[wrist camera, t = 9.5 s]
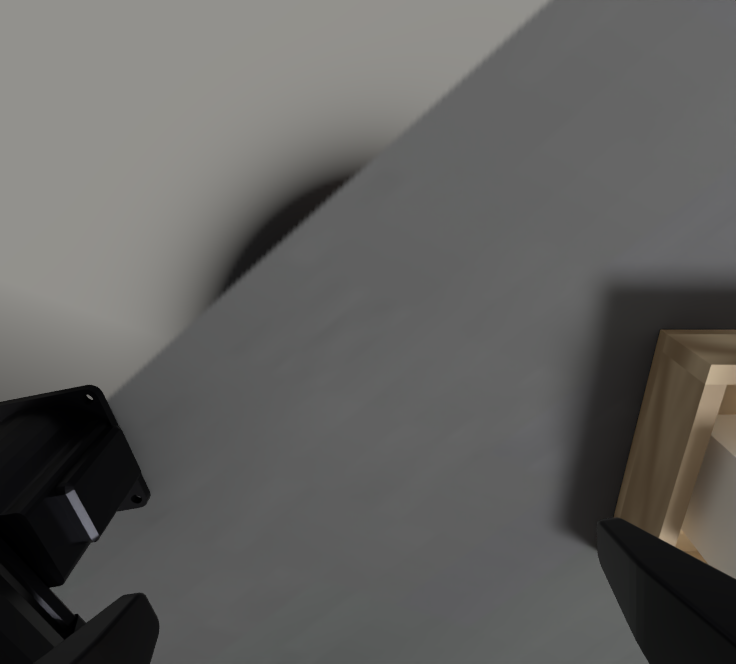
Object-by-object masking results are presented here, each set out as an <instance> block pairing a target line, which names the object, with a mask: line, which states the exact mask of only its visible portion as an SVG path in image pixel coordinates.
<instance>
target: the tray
mask: <svg viewBox="0 0 736 664" xmlns="http://www.w3.org/2000/svg"><path fill="white" fill-rule="evenodd" d="M717 415H736V330H660V333H659V337H658V341H657V345H656V349H655V353H654V357H653V361H652V365H651V369H650V373H649V377H648V381H647V385H646V389H645V393H644V397H643V401H642V405H641V409H640V413H639V417H638V421H637V425H636V429H635V433H634V437H633V441H632V445H631V449H630V453H629V457H628V461H627V465H626V469H625V473H624V477H623V481H622V485H621V489H620V493H619V497H618V501H617V505H616V509H615V513H614V517H613V518H615V517H619V518H621V519H624V520H626V521H627V522H629V523H631V524H633V525H635V526H637V527H639V528H641V529H643V530H644V531H646V532H648V533H650V534H652V535H654V536H656V537H658V538H660V539H661V540H663V541H665V542H667V543H669V544H671V545H673V546H675V547H676V548H678V549H680V550H682V551H684V552H686V553H688V554H690V555H692V556H693V557H695V558H697V559H699V560H701V561H703V562H705V563H707V562H706V561H705V559H704V558H703V557H702V555H701V554H700V553H699V552H698V550H697V549H696V548H695V546H694V545H693V544H692V543H691V541H690V540H689V539H688V538H687V536H686V535H685V534H684V532H683V531H682V530H681V527H682V524H683V521H684V518H685V515H686V511H687V508H688V505H689V502H690V499H691V496H692V493H693V490H694V486H695V483H696V480H697V477H698V474H699V471H700V468H701V465H702V462H703V458H704V455H705V452H706V449H707V446H708V443H709V440H710V437H711V433H712V430H713V427H714V424H715V421H716V418H717ZM707 564H708V563H707ZM708 565H709V564H708Z"/></svg>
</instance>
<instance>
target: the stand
mask: <svg viewBox="0 0 736 664" xmlns="http://www.w3.org/2000/svg"><path fill="white" fill-rule="evenodd" d="M681 530H682V531H683V532H684V534H685V535H686V536H687V538H688V539H689V540H690V541H691V543H692V544H693V545H694V546H695V548H696V549H697V550H698V552H699V553H700V554H701V555H702V557H703V558H704V559H705V561H706V562H707V563H708V564H709V565H710V566H712V567H714V568H716V569H718V570H720V571H722V572H724V573H725V574H727V575H729V576H731V577H733V578H735V579H736V415H717V418H716V421H715V424H714V427H713V430H712V433H711V437H710V440H709V443H708V446H707V449H706V452H705V455H704V458H703V462H702V465H701V468H700V471H699V474H698V477H697V480H696V483H695V486H694V490H693V493H692V496H691V499H690V502H689V505H688V508H687V511H686V515H685V518H684V521H683V524H682V527H681Z"/></svg>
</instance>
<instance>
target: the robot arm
mask: <svg viewBox="0 0 736 664" xmlns="http://www.w3.org/2000/svg"><path fill="white" fill-rule="evenodd" d="M87 394H88V395H90V396H91V397H92V398H93V400H91V399H89V398H88V397H87V396H86V395H87ZM136 495H138V496H140V497H141V498H139V497H137V496H136ZM149 498H150V491H149V489H148V487H147V485H146V482H145V480H144V478H143V476H142V474H141V470H140V468H139V466H138V463H137V461H136V459H135V457H134V455H133V453H132V451H131V449H130V447H129V444H128V442H127V440H126V438H125V436H124V434H123V432H122V430H121V429H120V428H119V426H118V424H117V422H116V419H115V417H114V415H113V413H112V411H111V409H110V407H109V405H108V403H107V400H106V398H105V396H104V394H103V392H102V391H101V390H100V389H99V388H98V387H96V386H93V385H85V386H80V387H75V388H70V389H65V390H59V391H54V392H49V393H44V394H39V395H34V396H29V397H23V398H19V399H13V400H8V401H3V402H0V664H150V662H151V659H152V655H153V652H154V648H155V645H156V642H157V638H158V634H159V621H158V618H157V616H156V614H155V612H154V610H153V608H152V606H151V604H150V603H149V601H148V599H147V597H146V595H144V594H143V593H134V594H127V595H123V596H122V597H120V598H119V599H117V600H116V601H115V602H113V603H112V604H111V605H109V606H108V607H107V608H105V609H104V610H103V611H102V612H100V613H99V614H98V615H96V616H95V617H94V618H92V619H91V620H90V621H88V622H87V623H86V622H85V621H84V620H83V619H82V618H81V617H80V616H79V615H78V614H73V613H72V612H71V611H70V610H69V609H68V608H67V607H66V606H65V604H64V603H63V602H62V601H61V600H60V599H59V598H58V597H57V596H56V595H55V594H54V593H53V592H52V591H51V590H50V587H56V586H61V585H63V584H64V582H65V581H66V579H67V578H68V576H69V575H70V573H71V572H72V570H73V569H74V567H75V566H76V564H77V563H78V561H79V560H80V558H81V557H82V555H83V554H84V552H85V551H86V549H87V548H88V546H89V544H90V543H92V542H96V541H97V540H99V538H100V536H101V535H102V533H103V532H104V530H105V529H106V527H107V526H108V524H109V523H110V521H111V519H112V518H113V516H114V515H115V513H116V512H117V511H123V510H128V509H134V508H140V507H143V506H145V505H146V503H147V502H148V500H149ZM597 551H598V557H599V561H600V564H601V567H602V569H603V571H604V573H605V575H606V578H607V580H608V582H609V584H610V586H611V588H612V590H613V593H614V595H615V597H616V599H617V601H618V603H619V606H620V608H621V610H622V612H623V614H624V616H625V618H626V621H627V623H628V625H629V627H630V629H631V631H632V633H633V635H634V637H635V639H636V641H637V643H638V645H639V647H640V648H641V650H642V652H643V654H644V655H645V657H646V659H647V660H648V662H649V664H736V579H735V578H733V577H731V576H729V575H727V574H725V573H724V572H722V571H720V570H718V569H716V568H714V567H712V566H710V565H708V564H707V563H705V562H703V561H701V560H699V559H697V558H695V557H693V556H692V555H690V554H688V553H686V552H684V551H682V550H680V549H678V548H676V547H675V546H673V545H671V544H669V543H667V542H665V541H663V540H661V539H660V538H658V537H656V536H654V535H652V534H650V533H648V532H646V531H644V530H643V529H641V528H639V527H637V526H635V525H633V524H631V523H629V522H627V521H626V520H624V519H621V518H619V517H615V518H608V519H602V520H599V521H598V522H597Z"/></svg>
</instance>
